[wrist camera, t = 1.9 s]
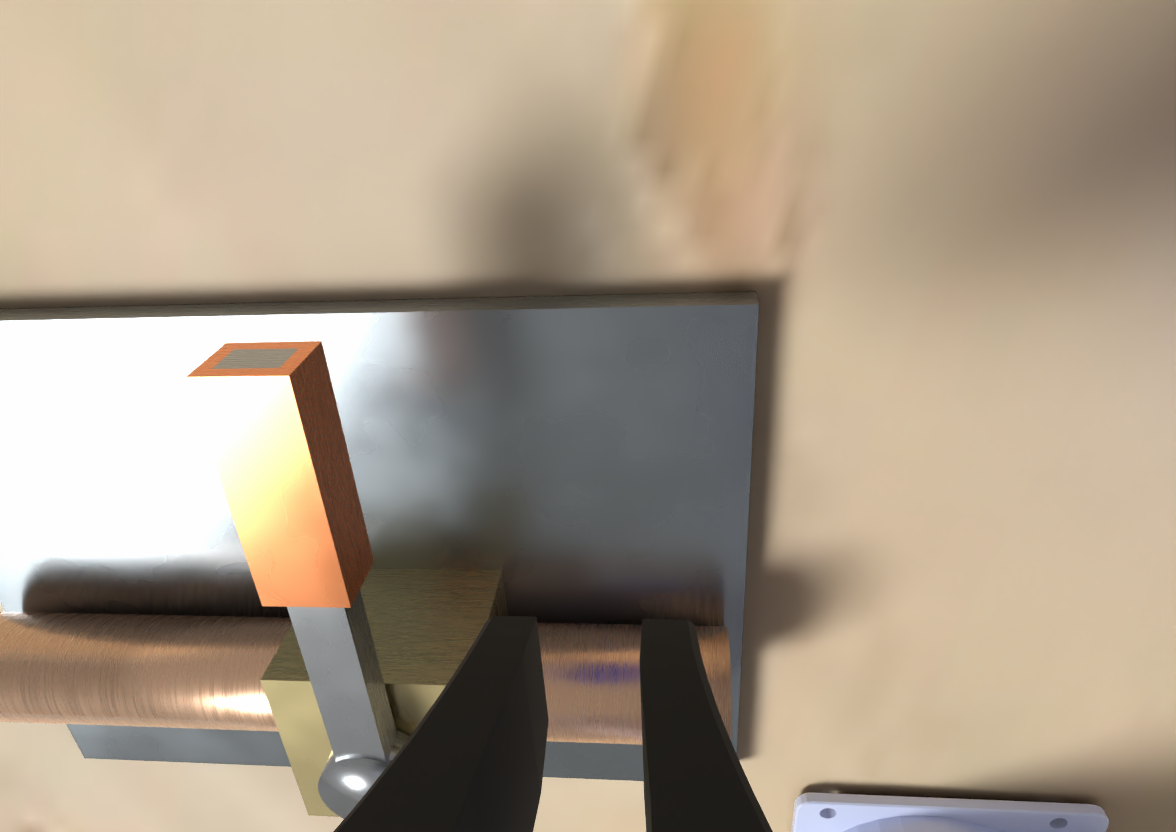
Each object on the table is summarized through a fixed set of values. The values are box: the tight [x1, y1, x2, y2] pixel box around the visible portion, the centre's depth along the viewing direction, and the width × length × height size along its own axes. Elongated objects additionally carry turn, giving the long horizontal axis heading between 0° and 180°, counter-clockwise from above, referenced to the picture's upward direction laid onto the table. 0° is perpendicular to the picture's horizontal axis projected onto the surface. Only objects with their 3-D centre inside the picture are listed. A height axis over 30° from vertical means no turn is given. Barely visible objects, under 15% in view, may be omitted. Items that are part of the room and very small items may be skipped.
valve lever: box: [185, 341, 410, 819], centre depth 17 cm, size 12×2×1 cm, turn 3°
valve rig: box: [0, 291, 759, 817], centre depth 21 cm, size 22×16×5 cm
